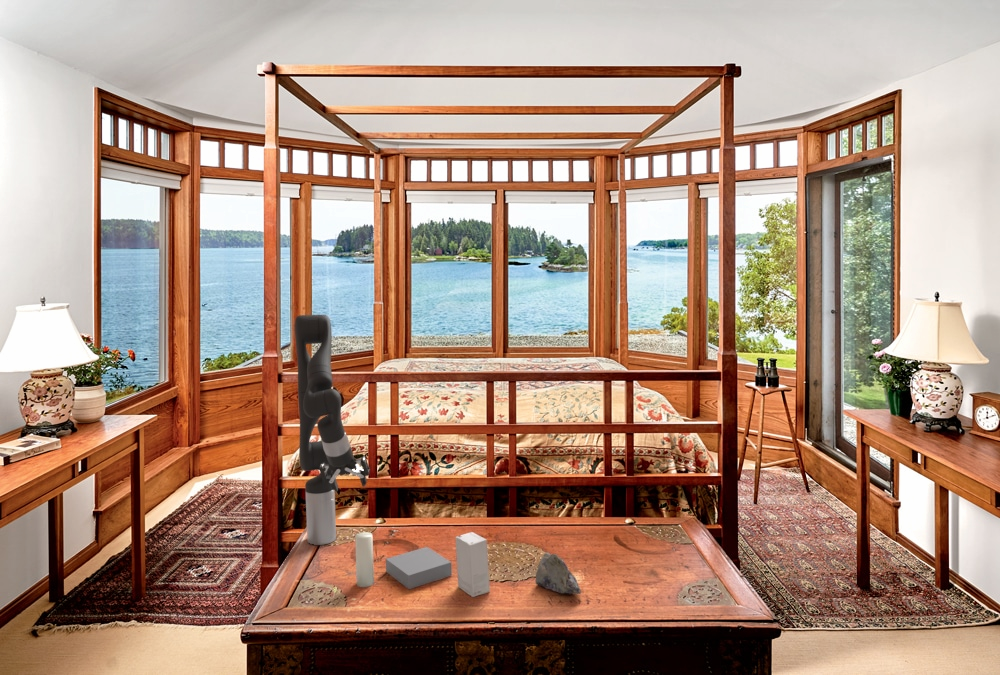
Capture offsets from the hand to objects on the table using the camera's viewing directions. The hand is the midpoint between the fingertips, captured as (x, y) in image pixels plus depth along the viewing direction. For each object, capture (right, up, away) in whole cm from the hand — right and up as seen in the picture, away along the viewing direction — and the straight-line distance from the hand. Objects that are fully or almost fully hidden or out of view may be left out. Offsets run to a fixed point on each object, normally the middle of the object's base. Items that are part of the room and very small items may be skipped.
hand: (350, 487), depth 203 cm
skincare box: (+39, -24, -22) cm, 51 cm away
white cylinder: (+8, -23, -17) cm, 30 cm away
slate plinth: (+23, -23, -12) cm, 34 cm away
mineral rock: (+62, -23, -23) cm, 70 cm away
